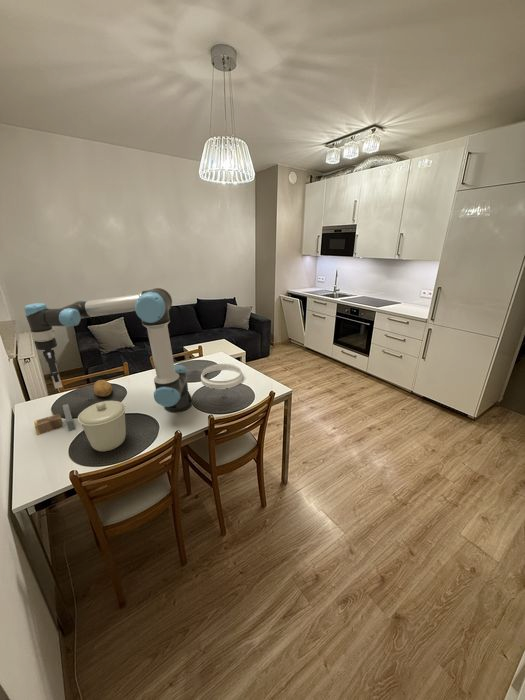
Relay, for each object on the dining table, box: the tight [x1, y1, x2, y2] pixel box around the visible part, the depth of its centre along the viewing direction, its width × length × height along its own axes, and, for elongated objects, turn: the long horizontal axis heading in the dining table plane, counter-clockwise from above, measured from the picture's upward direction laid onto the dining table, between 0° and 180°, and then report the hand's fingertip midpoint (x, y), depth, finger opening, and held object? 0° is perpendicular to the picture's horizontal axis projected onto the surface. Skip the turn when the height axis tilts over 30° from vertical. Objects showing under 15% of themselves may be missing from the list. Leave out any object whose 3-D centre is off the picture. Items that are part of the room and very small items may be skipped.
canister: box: [77, 400, 127, 452], centre depth 122 cm, size 18×18×21 cm
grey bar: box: [62, 403, 76, 432], centre depth 139 cm, size 18×2×5 cm, turn 39°
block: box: [33, 413, 64, 436], centre depth 134 cm, size 5×5×10 cm
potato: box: [93, 379, 113, 397], centre depth 162 cm, size 10×14×8 cm
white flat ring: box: [200, 363, 243, 390], centre depth 183 cm, size 27×27×6 cm
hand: (57, 381), depth 131 cm, fingers open, 13 cm apart
